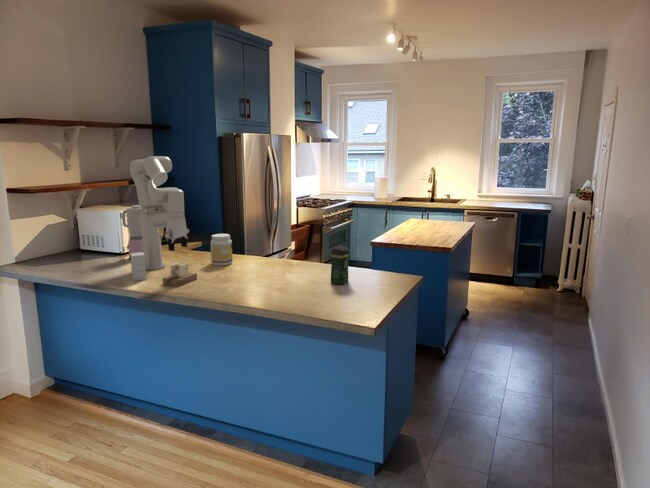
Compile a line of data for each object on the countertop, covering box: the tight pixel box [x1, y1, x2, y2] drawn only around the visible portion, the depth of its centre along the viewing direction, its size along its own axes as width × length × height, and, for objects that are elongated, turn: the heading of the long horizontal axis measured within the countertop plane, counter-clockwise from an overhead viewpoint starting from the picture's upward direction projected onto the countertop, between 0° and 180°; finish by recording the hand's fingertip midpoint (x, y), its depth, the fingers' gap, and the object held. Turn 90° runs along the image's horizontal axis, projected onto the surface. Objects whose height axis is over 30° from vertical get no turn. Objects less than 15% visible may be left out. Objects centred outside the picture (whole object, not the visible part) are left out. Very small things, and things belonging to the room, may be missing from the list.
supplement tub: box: [209, 233, 233, 267], centre depth 277 cm, size 12×12×17 cm
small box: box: [130, 252, 147, 282], centre depth 244 cm, size 8×6×13 cm
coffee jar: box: [330, 245, 350, 285], centre depth 239 cm, size 10×8×19 cm
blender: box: [121, 204, 148, 260], centre depth 288 cm, size 16×12×32 cm
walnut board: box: [162, 271, 198, 287], centre depth 240 cm, size 10×14×3 cm
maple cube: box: [170, 261, 190, 278], centre depth 240 cm, size 6×6×6 cm
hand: (178, 248), depth 238 cm, fingers open, 9 cm apart
